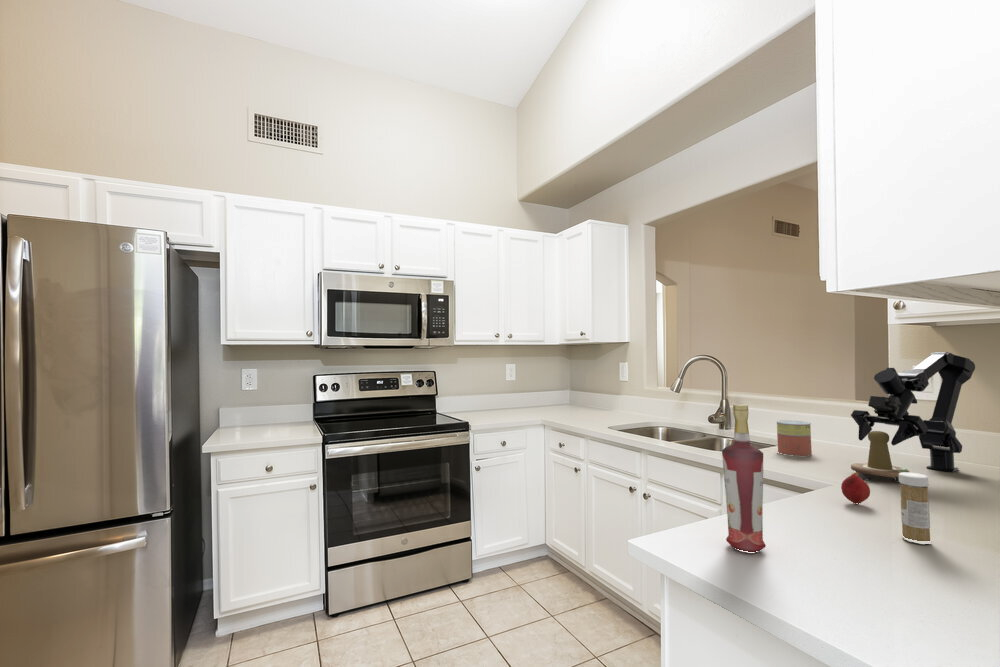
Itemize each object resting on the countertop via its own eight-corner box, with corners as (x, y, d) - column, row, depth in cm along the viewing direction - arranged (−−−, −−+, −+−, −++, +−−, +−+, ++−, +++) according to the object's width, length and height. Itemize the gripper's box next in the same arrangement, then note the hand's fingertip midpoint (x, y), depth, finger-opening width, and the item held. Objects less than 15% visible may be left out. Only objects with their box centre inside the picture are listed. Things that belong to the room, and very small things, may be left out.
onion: (858, 509, 115) (857, 476, 115) (836, 502, 120) (834, 470, 121) (876, 506, 116) (874, 474, 117) (853, 500, 122) (851, 469, 122)
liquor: (770, 559, 87) (764, 407, 88) (726, 553, 89) (721, 406, 91) (764, 544, 94) (758, 404, 95) (723, 539, 96) (719, 403, 98)
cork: (897, 470, 140) (895, 433, 141) (873, 469, 142) (871, 432, 142) (886, 465, 146) (884, 430, 147) (863, 464, 147) (861, 429, 148)
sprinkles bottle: (902, 535, 98) (899, 470, 98) (932, 541, 95) (928, 473, 95) (901, 542, 94) (897, 474, 95) (932, 548, 91) (928, 478, 92)
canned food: (817, 456, 175) (816, 424, 175) (785, 456, 176) (784, 424, 177) (803, 451, 186) (802, 420, 186) (772, 450, 188) (771, 420, 188)
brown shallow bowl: (862, 470, 153) (861, 458, 154) (917, 479, 141) (917, 466, 142) (843, 476, 146) (842, 464, 146) (900, 486, 134) (899, 473, 134)
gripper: (853, 385, 155) (831, 420, 151) (919, 388, 138) (896, 428, 134) (870, 408, 158) (849, 443, 153) (937, 414, 140) (916, 454, 136)
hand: (875, 442), depth 144 cm, fingers open, 9 cm apart
